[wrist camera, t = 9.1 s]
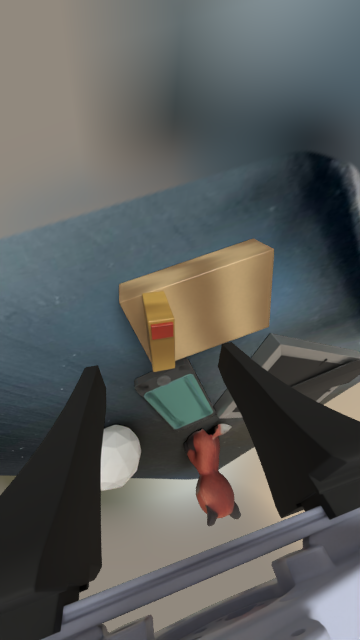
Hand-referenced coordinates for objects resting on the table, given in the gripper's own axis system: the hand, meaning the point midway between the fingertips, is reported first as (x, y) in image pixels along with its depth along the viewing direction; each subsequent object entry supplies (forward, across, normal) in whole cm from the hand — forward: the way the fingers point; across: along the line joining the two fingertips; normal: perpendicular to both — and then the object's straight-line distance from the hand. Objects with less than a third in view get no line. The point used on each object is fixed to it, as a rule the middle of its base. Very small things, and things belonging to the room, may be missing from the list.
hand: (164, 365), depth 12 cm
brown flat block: (+8, -4, +1) cm, 9 cm away
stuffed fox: (+8, -8, +31) cm, 33 cm away
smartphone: (+8, -3, +17) cm, 19 cm away
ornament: (+8, +7, +22) cm, 24 cm away
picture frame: (+8, -21, +18) cm, 29 cm away
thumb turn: (+5, 0, 0) cm, 5 cm away
